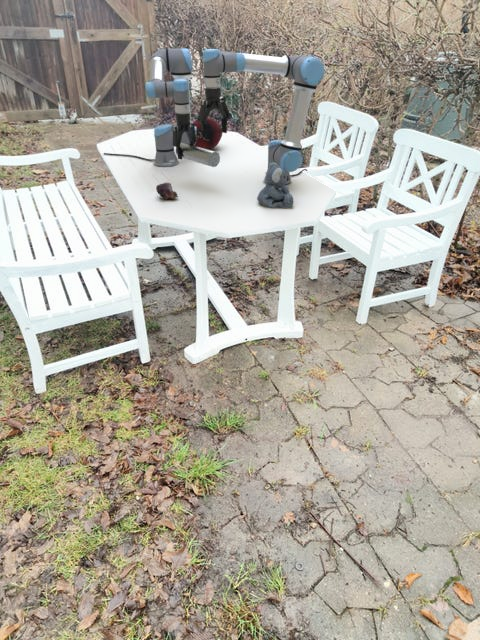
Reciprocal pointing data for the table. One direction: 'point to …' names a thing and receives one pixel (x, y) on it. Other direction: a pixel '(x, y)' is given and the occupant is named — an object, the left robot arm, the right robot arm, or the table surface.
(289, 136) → the right robot arm
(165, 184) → the rock
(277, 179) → the koala plush
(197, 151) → the rod
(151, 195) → the table surface
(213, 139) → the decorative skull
